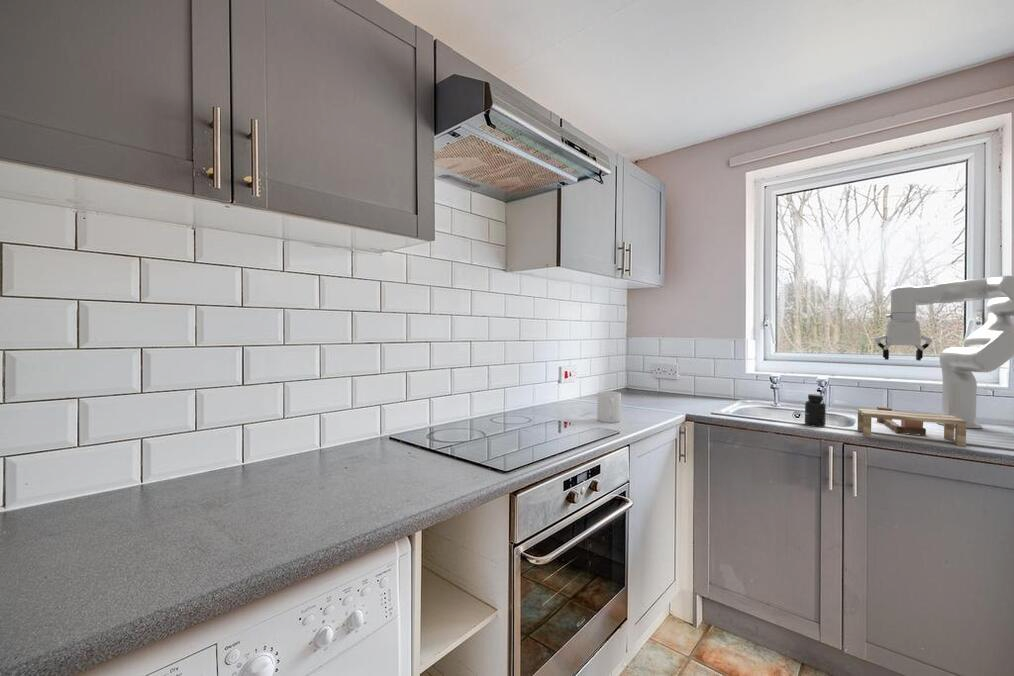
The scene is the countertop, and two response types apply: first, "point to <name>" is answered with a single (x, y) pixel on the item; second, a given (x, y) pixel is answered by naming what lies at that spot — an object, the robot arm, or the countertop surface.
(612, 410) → the mug
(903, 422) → the cube
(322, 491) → the countertop surface
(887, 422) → the crook
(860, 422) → the low bench
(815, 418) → the supplement bottle
